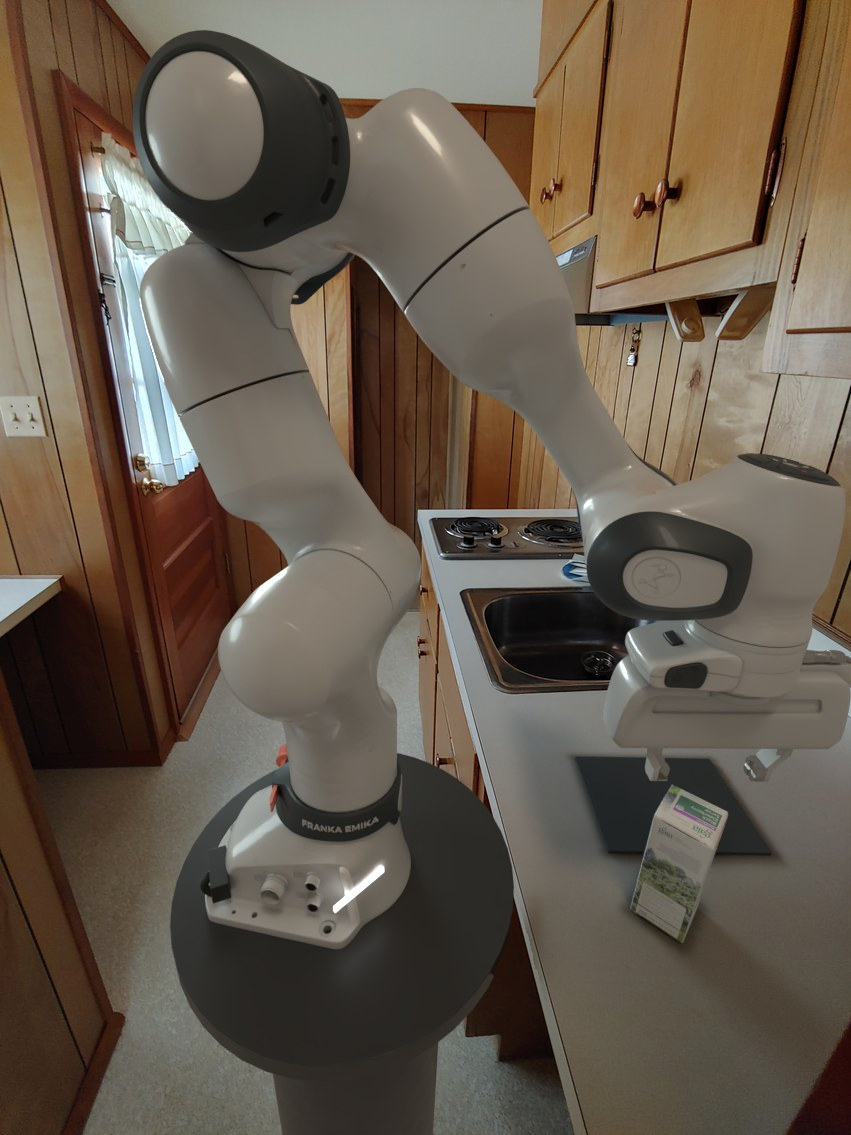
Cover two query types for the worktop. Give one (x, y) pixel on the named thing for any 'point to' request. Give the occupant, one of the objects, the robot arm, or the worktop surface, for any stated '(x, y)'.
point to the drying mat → (659, 801)
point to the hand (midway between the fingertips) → (705, 776)
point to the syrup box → (677, 861)
